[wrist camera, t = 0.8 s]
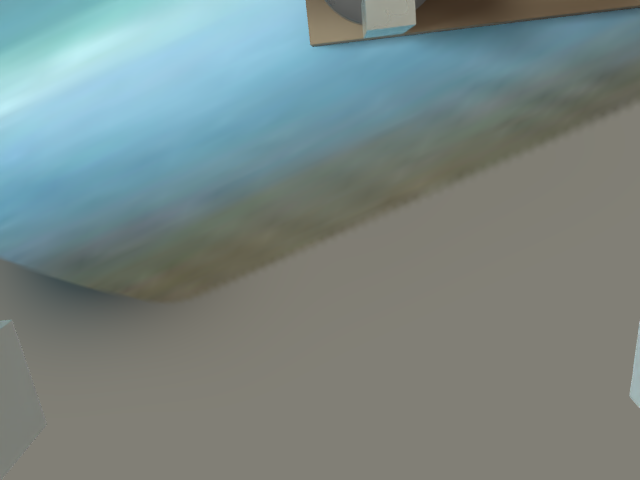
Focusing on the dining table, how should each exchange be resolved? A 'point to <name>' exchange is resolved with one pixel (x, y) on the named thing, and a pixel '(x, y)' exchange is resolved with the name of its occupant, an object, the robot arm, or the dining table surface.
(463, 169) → the dining table surface
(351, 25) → the base
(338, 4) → the knob
